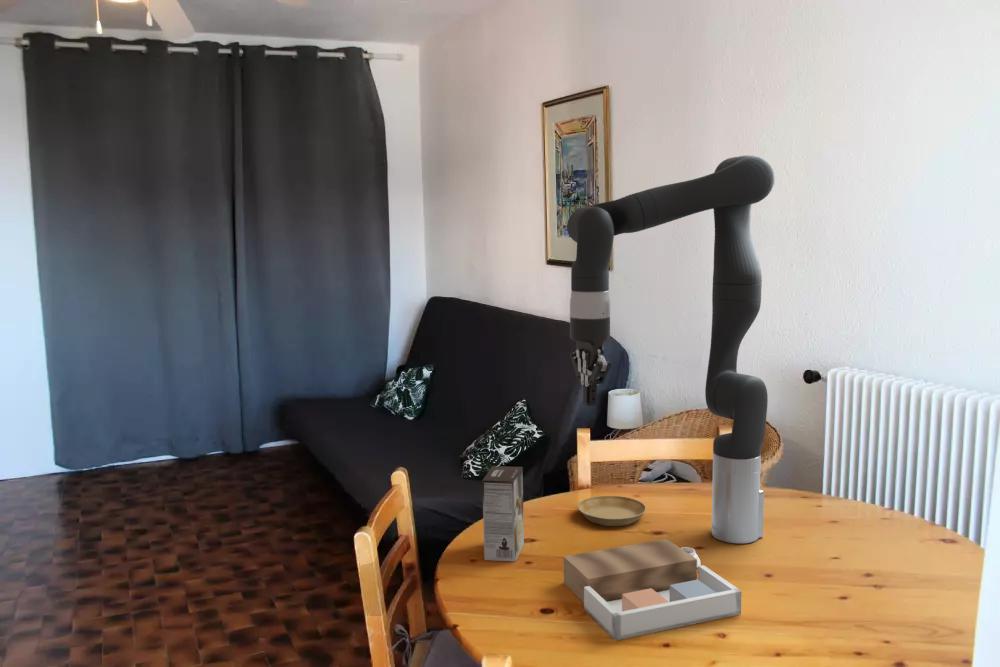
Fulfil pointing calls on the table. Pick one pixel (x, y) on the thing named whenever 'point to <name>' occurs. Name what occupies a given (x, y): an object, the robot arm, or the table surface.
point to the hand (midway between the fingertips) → (590, 404)
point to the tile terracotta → (641, 599)
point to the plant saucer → (612, 510)
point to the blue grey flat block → (688, 590)
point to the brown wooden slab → (629, 569)
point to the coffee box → (503, 513)
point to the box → (665, 609)
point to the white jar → (692, 554)
